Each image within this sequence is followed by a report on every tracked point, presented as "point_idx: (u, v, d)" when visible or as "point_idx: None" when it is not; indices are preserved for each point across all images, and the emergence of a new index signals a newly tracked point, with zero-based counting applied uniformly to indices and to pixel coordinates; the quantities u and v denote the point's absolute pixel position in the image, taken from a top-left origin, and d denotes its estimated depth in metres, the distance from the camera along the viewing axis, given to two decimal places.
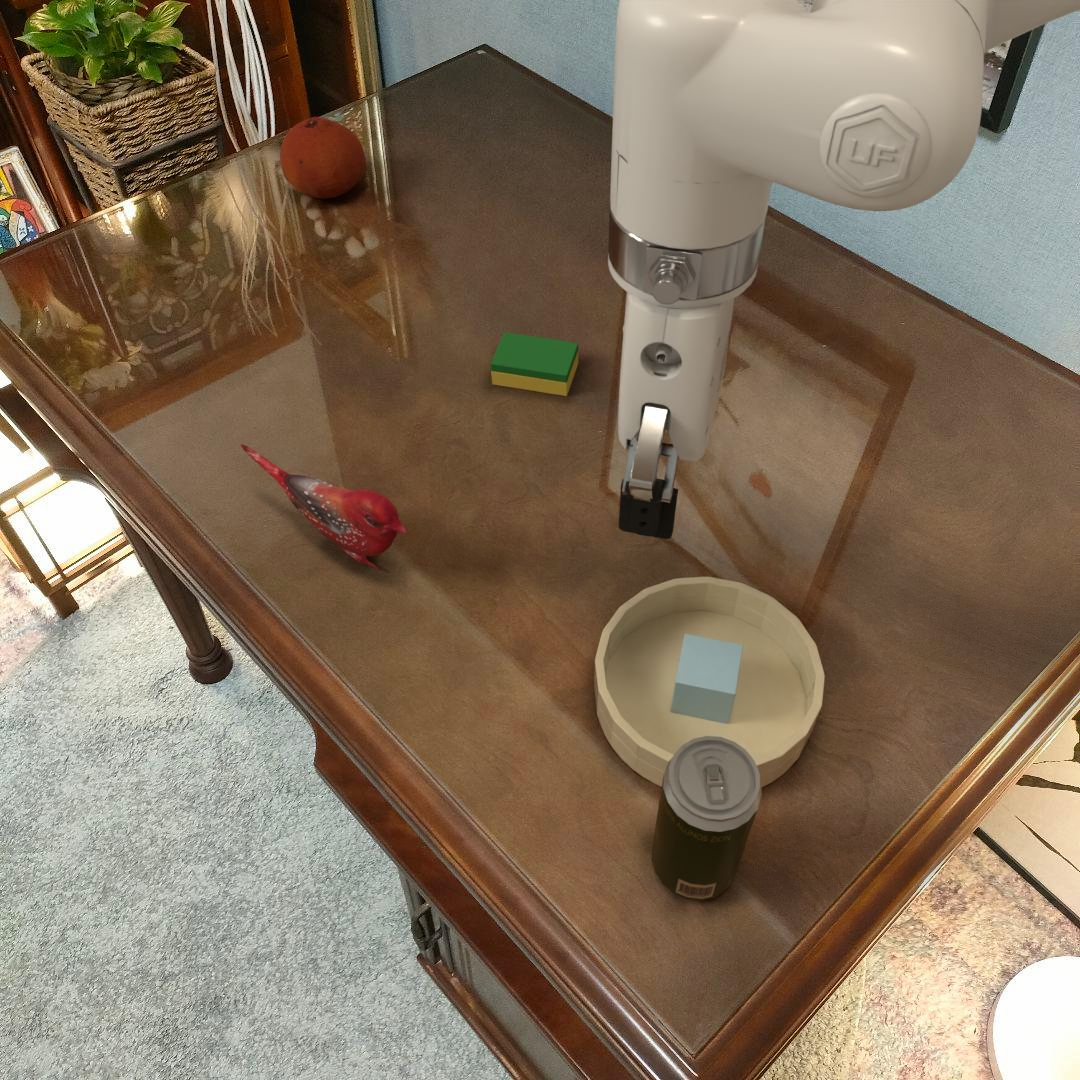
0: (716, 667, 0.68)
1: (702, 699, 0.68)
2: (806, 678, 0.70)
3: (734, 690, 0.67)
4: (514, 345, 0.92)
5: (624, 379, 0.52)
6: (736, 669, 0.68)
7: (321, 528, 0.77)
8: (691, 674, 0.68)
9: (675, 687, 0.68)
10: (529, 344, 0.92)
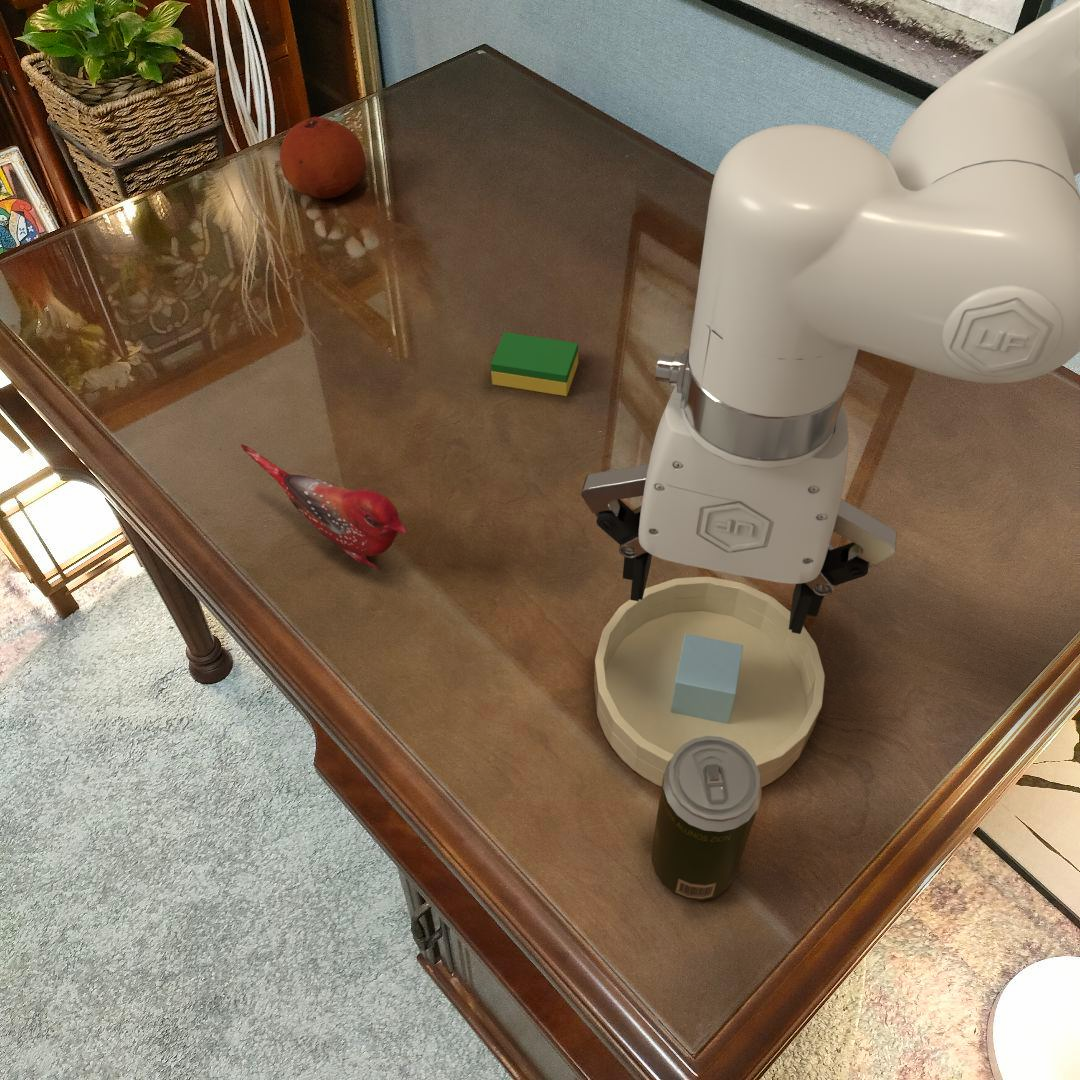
0: (716, 667, 0.68)
1: (702, 699, 0.68)
2: (806, 678, 0.70)
3: (734, 690, 0.67)
4: (514, 345, 0.92)
5: None
6: (736, 669, 0.68)
7: (321, 528, 0.77)
8: (691, 674, 0.68)
9: (675, 687, 0.68)
10: (529, 344, 0.92)
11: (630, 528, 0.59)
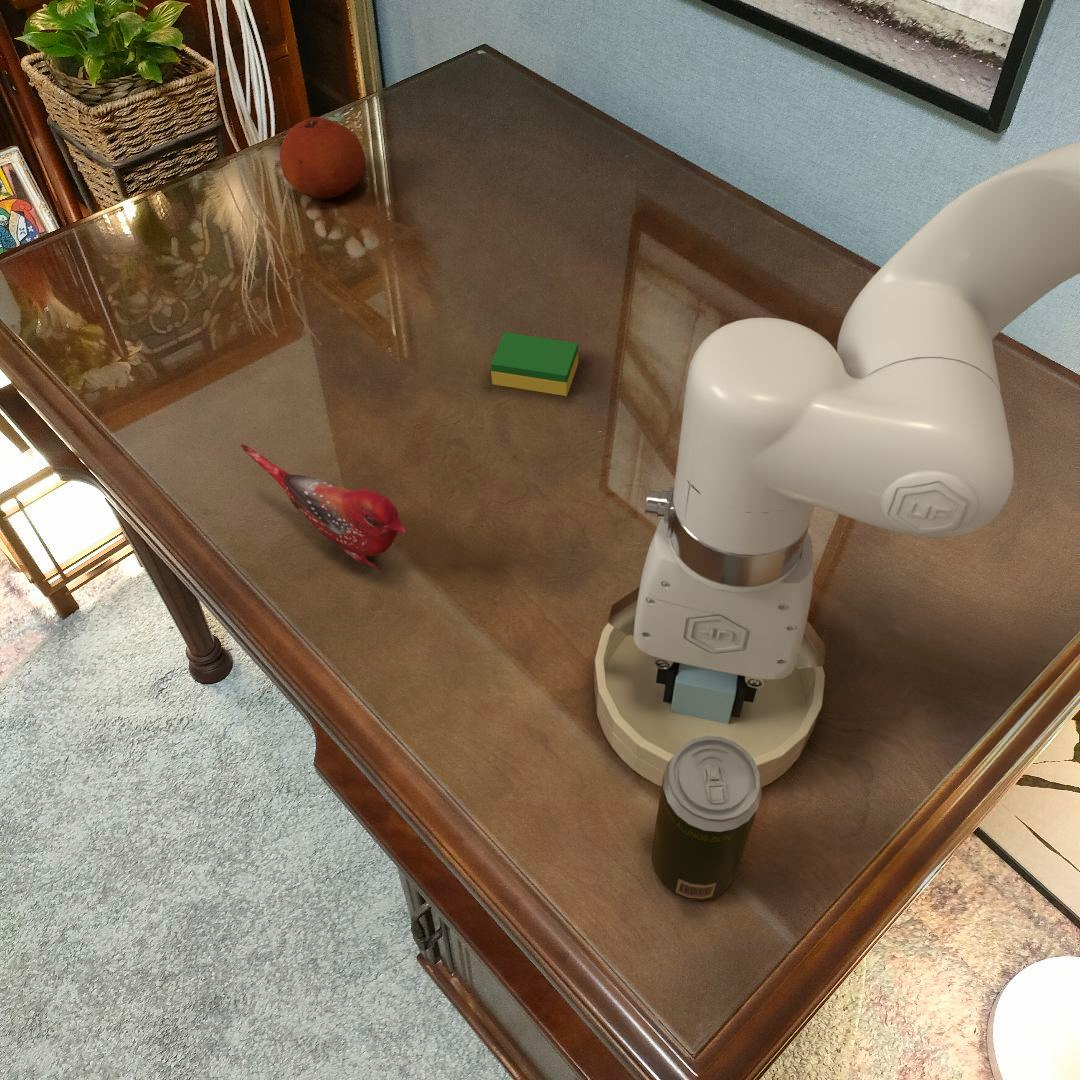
0: None
1: (702, 699, 0.68)
2: (806, 678, 0.70)
3: (734, 690, 0.67)
4: (514, 345, 0.92)
5: None
6: None
7: (321, 528, 0.77)
8: (691, 674, 0.68)
9: (675, 687, 0.68)
10: (529, 344, 0.92)
11: None
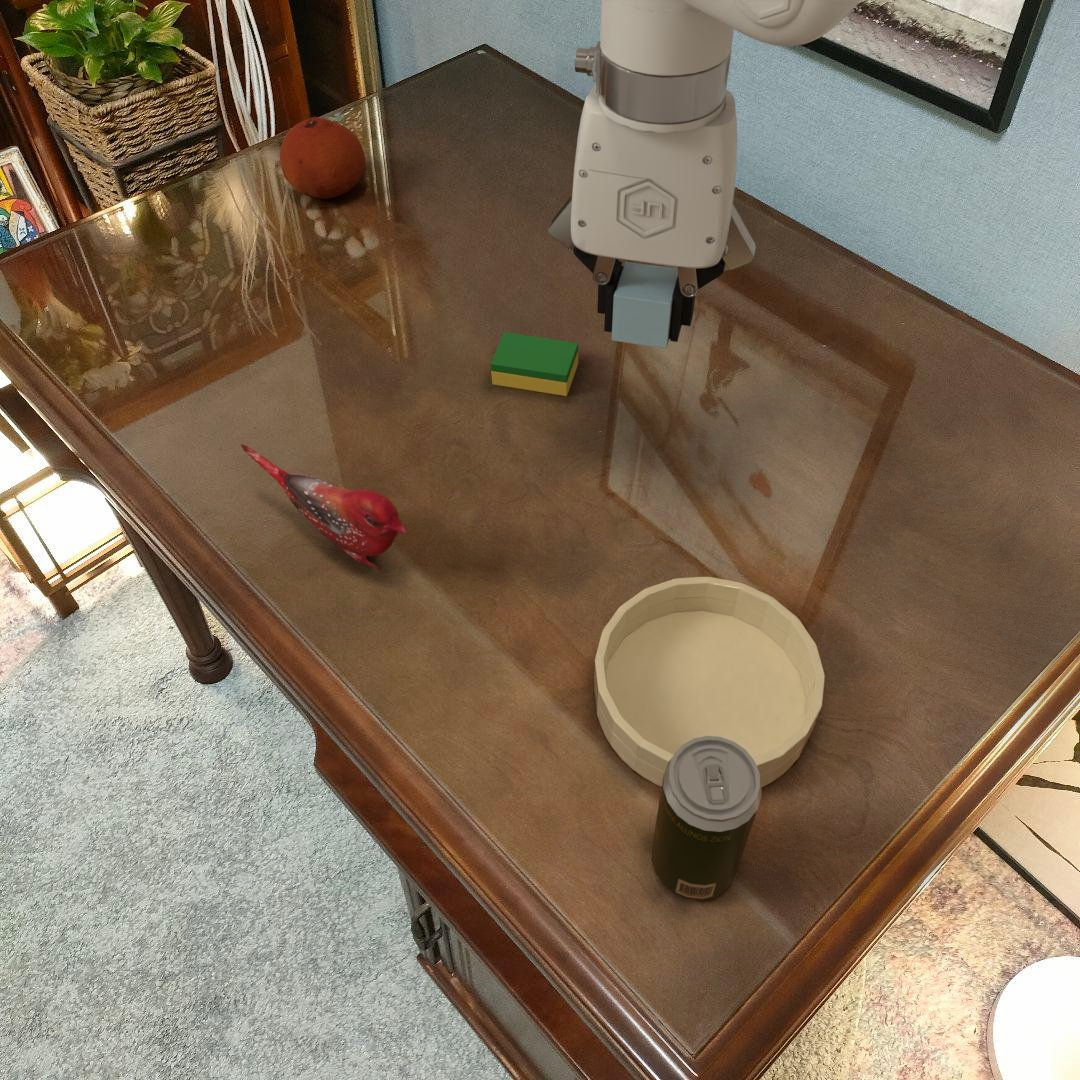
0: (653, 284, 0.71)
1: (640, 317, 0.71)
2: (806, 678, 0.70)
3: (670, 300, 0.70)
4: (514, 345, 0.92)
5: None
6: (673, 286, 0.71)
7: (321, 528, 0.77)
8: (629, 290, 0.70)
9: (614, 303, 0.71)
10: (529, 344, 0.92)
11: None
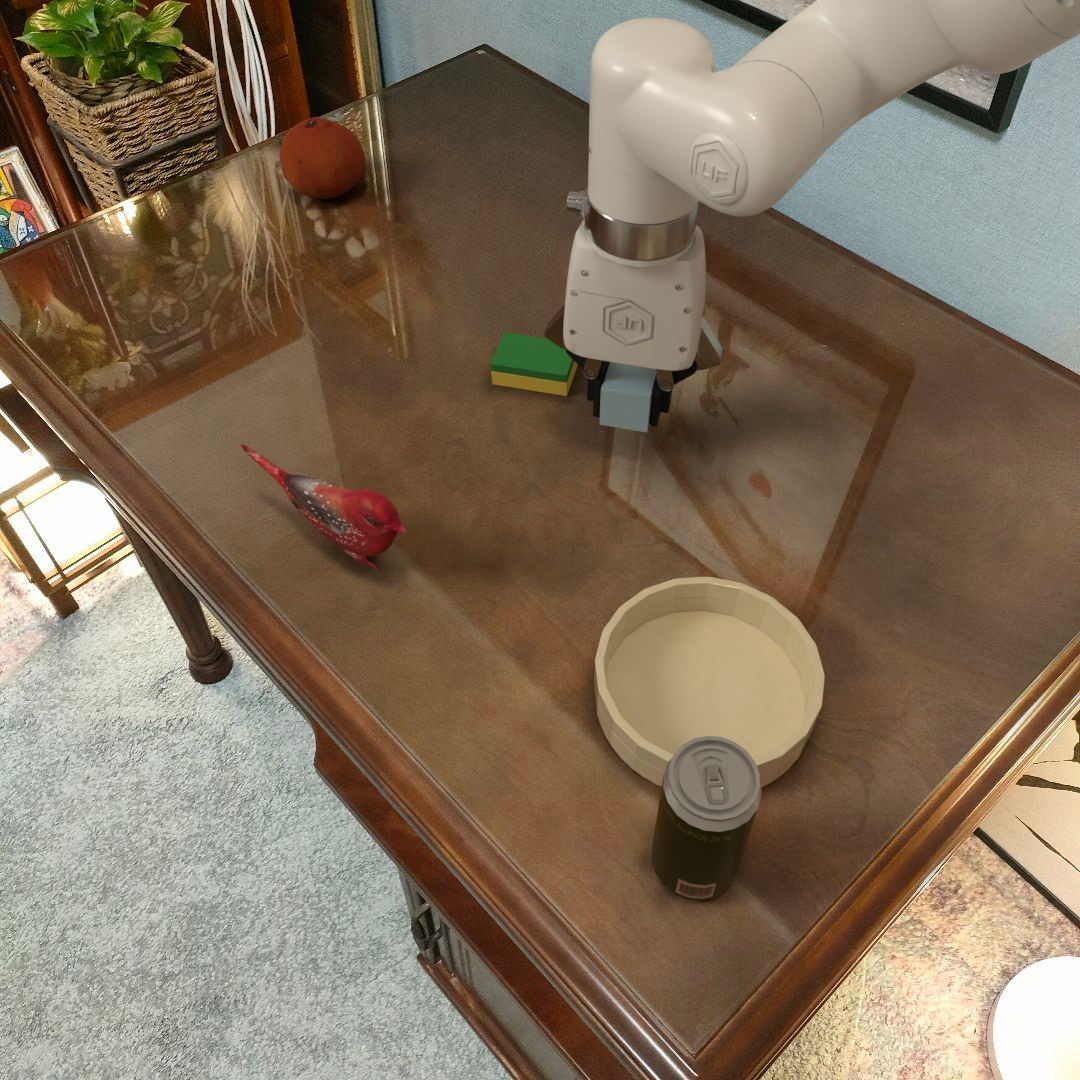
0: (635, 378, 0.81)
1: (624, 406, 0.81)
2: (806, 678, 0.70)
3: (649, 394, 0.80)
4: (514, 345, 0.92)
5: None
6: (652, 380, 0.81)
7: (321, 528, 0.77)
8: (615, 384, 0.81)
9: (601, 395, 0.81)
10: (529, 344, 0.92)
11: None
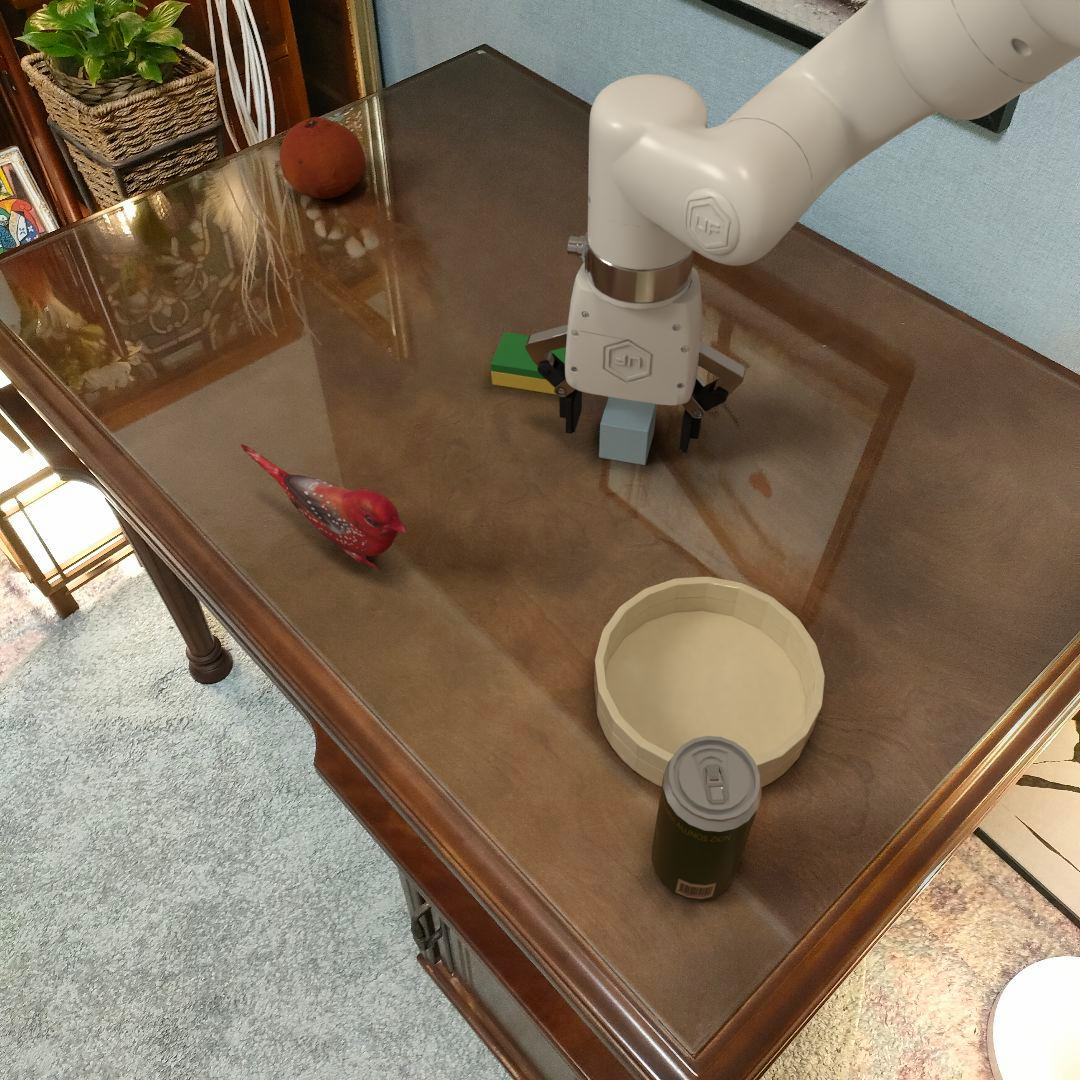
0: (634, 414, 0.84)
1: (623, 440, 0.84)
2: (806, 678, 0.70)
3: (647, 429, 0.83)
4: (514, 345, 0.92)
5: None
6: (650, 415, 0.84)
7: (321, 528, 0.77)
8: (613, 419, 0.84)
9: (600, 429, 0.84)
10: None
11: (562, 374, 0.82)
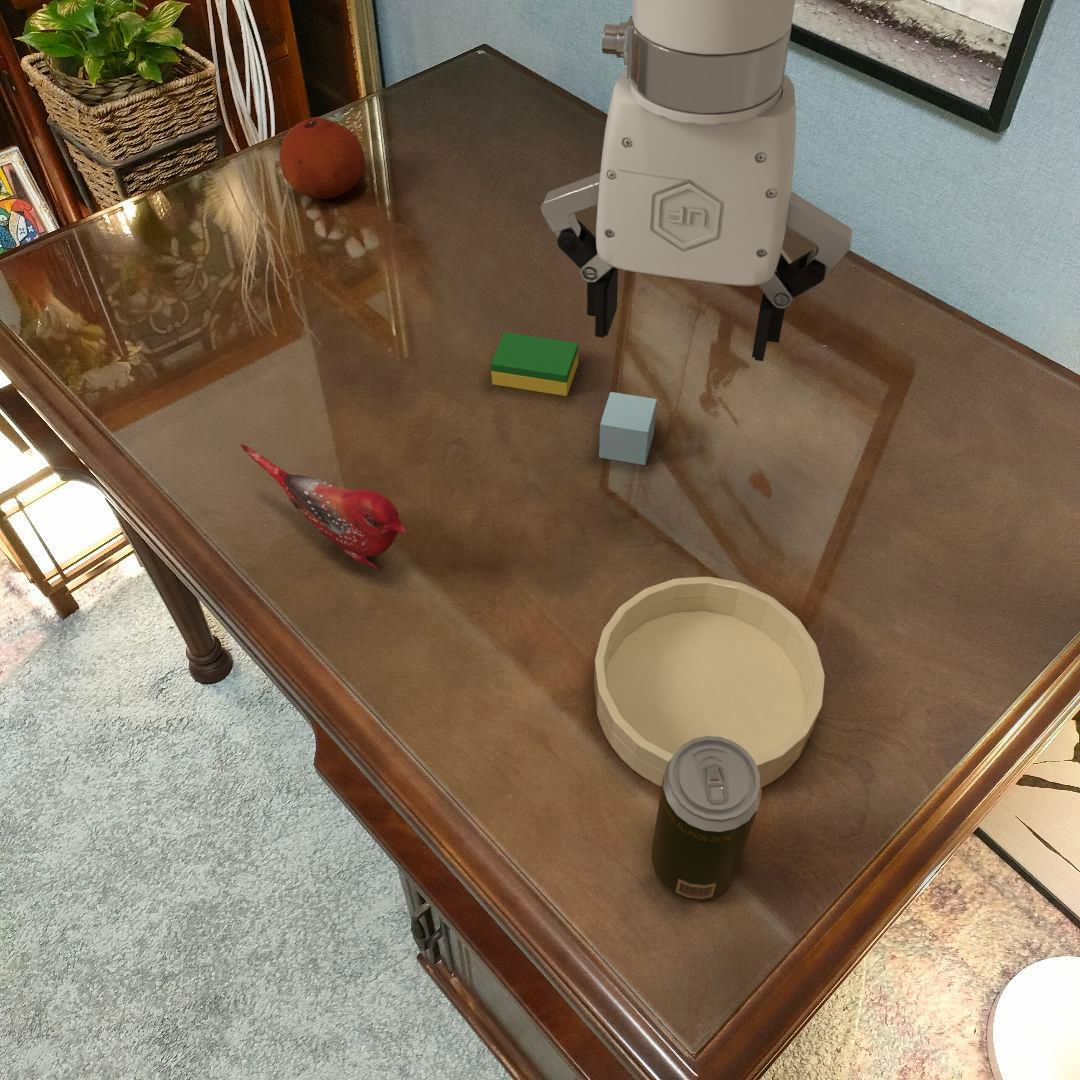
0: (634, 414, 0.84)
1: (623, 440, 0.84)
2: (806, 678, 0.70)
3: (647, 429, 0.83)
4: (514, 345, 0.92)
5: None
6: (650, 415, 0.84)
7: (321, 528, 0.77)
8: (613, 419, 0.84)
9: (600, 429, 0.84)
10: (529, 344, 0.92)
11: (591, 250, 0.60)
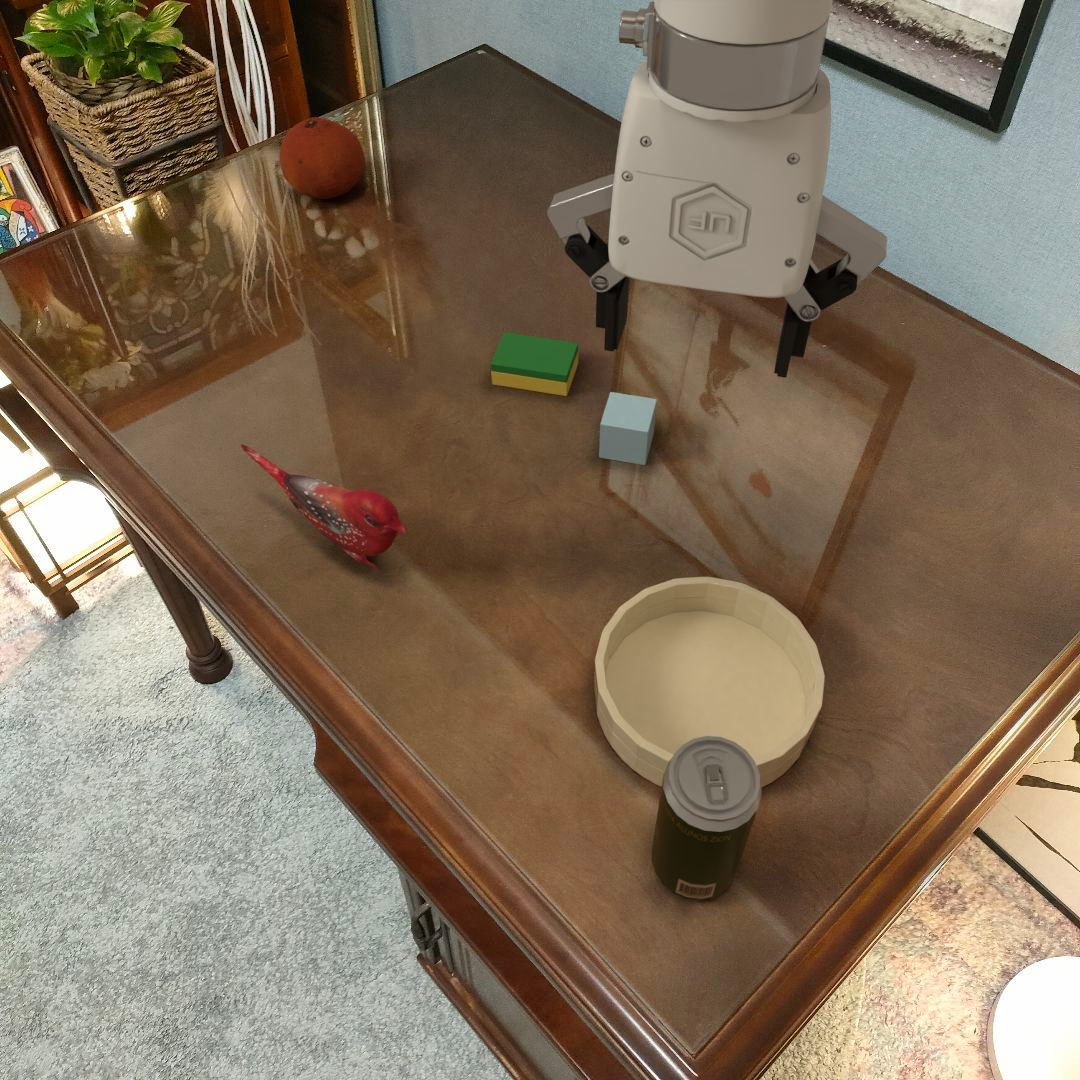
0: (634, 414, 0.84)
1: (623, 440, 0.84)
2: (806, 678, 0.70)
3: (647, 429, 0.83)
4: (514, 345, 0.92)
5: None
6: (650, 415, 0.84)
7: (321, 528, 0.77)
8: (613, 419, 0.84)
9: (600, 429, 0.84)
10: (529, 344, 0.92)
11: (601, 257, 0.55)
